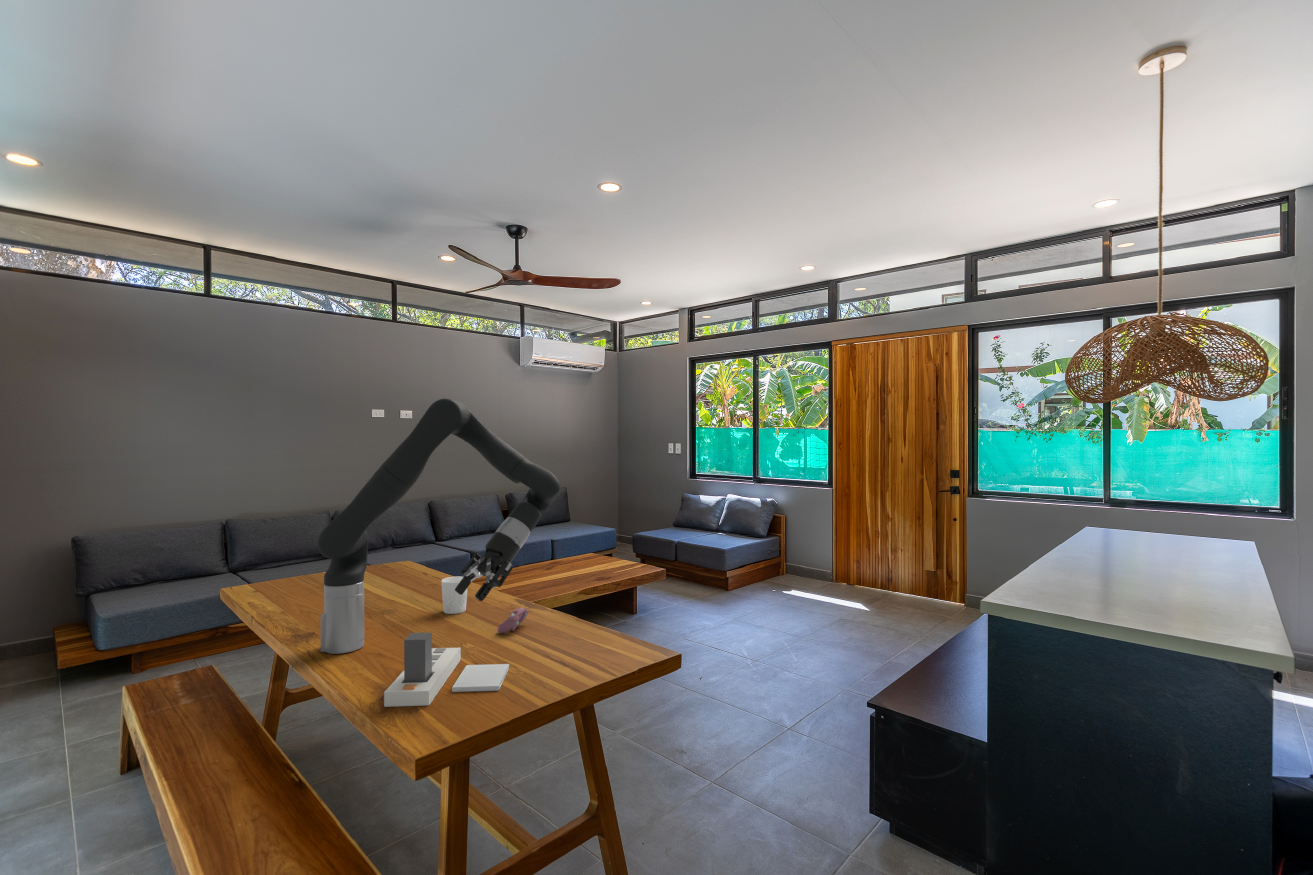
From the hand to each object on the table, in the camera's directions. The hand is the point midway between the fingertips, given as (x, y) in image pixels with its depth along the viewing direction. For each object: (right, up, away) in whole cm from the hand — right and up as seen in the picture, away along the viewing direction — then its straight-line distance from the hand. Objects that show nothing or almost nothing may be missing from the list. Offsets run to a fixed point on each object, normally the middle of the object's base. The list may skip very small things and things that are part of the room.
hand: (467, 595), depth 135 cm
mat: (+4, -18, -3) cm, 19 cm away
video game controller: (+3, -18, +31) cm, 36 cm away
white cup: (-20, -18, +47) cm, 54 cm away
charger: (-8, -18, -9) cm, 22 cm away
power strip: (-8, -18, -4) cm, 20 cm away
